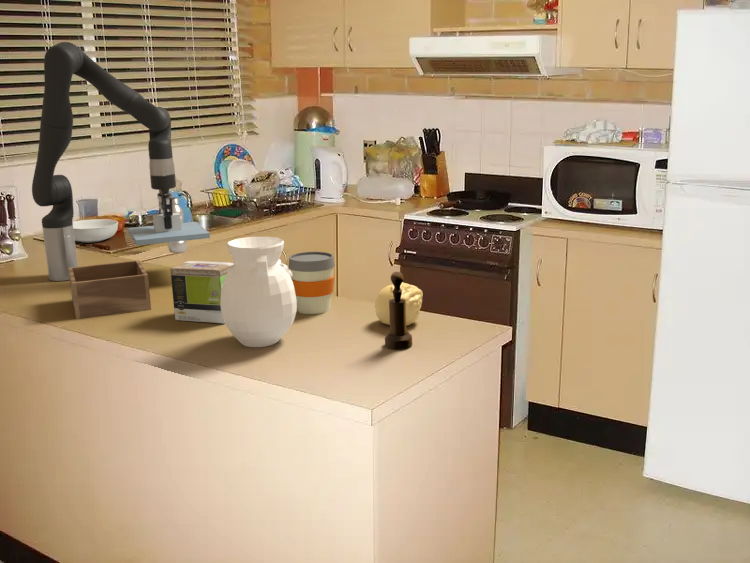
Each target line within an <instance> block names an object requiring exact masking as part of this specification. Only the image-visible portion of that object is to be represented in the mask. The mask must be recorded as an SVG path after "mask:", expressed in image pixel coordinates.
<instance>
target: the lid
mask: <svg viewBox="0 0 750 563" xmlns="http://www.w3.org/2000/svg"><path fill="white" fill-rule="evenodd" d="M171 220H172V228H171V229H165V225H164V217H163V214H161V213H160V214H153V215H152V221H153V222H152V224H153V225H146V226H135V227H128V228H127V229H128V234H129V236H130V238H131V239H132V241H133V242H134V243H135V245H136V246H147V245H156V244H164V243H168V242H176V241H186V242H187V241H194V240H203V239H210V238H211V236H210V235H211V234H210V232H209V231H208V230H207V229H205V227H203V226H202V225H201V224H200V223H199V222H197V221H190V222H183V223H181V216H180V214H179V213H173V214H172V217H171Z"/></svg>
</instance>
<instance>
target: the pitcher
mask: <svg viewBox="0 0 750 563" xmlns="http://www.w3.org/2000/svg"><path fill="white" fill-rule="evenodd" d="M226 247H227V249H228V251H229V254H230V256H231V258H232V261H233V262H234V263H235V266H234V267H233V268H229V269H228V271H227V274H226V278H225V279H224V281H223V283H222V284H223V285H222V290H221V301H220V306H221V313H222V318H223V320H224V322H225V323H224V324H225V326H226V328H227V329H228V331H229V332H230V333H231V335H232V336H233V337H234V338H235V339H237V341H238V342H239V343H241V344H242V346H244V347H248V348H265V347H266V348H267V347H268V346H269V347H270V346H273V345H275V344H277V343H278V342H279V341H280V340H281V338H282V337H283V336H284V335H285V334H286V333H287V332H288V331H289V329H291V327H292V324H293V323H294V321H295V318H296V315H297V312H298V311H297V300H296V295H295V289H294V285H293V282H292V279H291V277H292V276H293V275H292V272H291V271H290V269H289V266H288V265H287V264H284V262H282V260H281V259H280V258H281V256H282V253H283V250H284V247H285V241H284V240H283V238H280V237H275V236H246V237H240V238H236V239H233V240H230V241H228V242H227V243H226ZM241 344H240V345H241Z"/></svg>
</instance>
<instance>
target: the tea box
mask: <svg viewBox="0 0 750 563" xmlns="http://www.w3.org/2000/svg"><path fill="white" fill-rule="evenodd" d="M234 266H235V263H234V261H211V260H210V261H208V260H207V261H206V260H187V261H184V262H182V263H180V264H177V265H175V266H172V267H170V268H169V270H170V278H171V279H170V280H171V290H172V292H171V293H172V300H173V301H172V302H173V311H174V319H175V321H183V322H184V321H185V322H186V321H187V322H199V323H212V324H225V322H224V320H223V318H222V313H221V306H220V301H221V290H222V285H223V284H222V283H223V281H224V279H225V278H226V274H227V271H228V269H229V268H233V267H234Z"/></svg>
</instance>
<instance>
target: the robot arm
mask: <svg viewBox="0 0 750 563" xmlns="http://www.w3.org/2000/svg"><path fill="white" fill-rule="evenodd" d="M43 67H44V68H43V71H44V72H43V73H44V76H43V77H44V90H43V98H42V106H41V107H42V108H41V114H40V115H41V117H40V127H39V141H38V149H37V157H36V164H35V168H34V172H33V178H32V185H31V195H32V199H33V201H34V203H35V204H36V205H37V206H39V207H50V206H51V207H52V208H51V210H50V211H49V212H48V213H47V214H46V215H45V216H43V217H42V218H41V226H42V228H41V229H42V235H43V241H44V249H45V250H44V251H45V257H46V258H45V260H46V265H47V266H46V267H47V272H48V280H50V281H52V282H55V281H56V282H62V281H70V277H69V269H68V268H71V267H79V264H78V258H77V248H76V246H77V245H76V241H75V238H74V230H73V222H74V220H73V219H74V198H73V188H72V184H71V182H70V180H69V178H68V177H67V176H65V175H63V174H55V170H56V167H57V164H58V162H59V161H60V159H61V157H63V154H64V153H65V152H66V150H67V149H68V147H69V145H70V143H71V141H72V135H73V127H74V126H73V125H74V115H73V110H72V106H71V105H72V104H71V100H70V90H71V82H72V78H73V75H75V76H78V77H79V78H81V79H83V80H84V81H86V82H88V83H89V84H90V85H92V86H93V87H94V88H95V89H96V90H97V91H98V92H99V93H100V94H101V96H103V97H104V98H105V99H106V100H107V101H108V102H109V103H111V104H112V105H114V106H115V107H117V108H118V109H120V110H122V111H123V112H124V113H126V114H128V115H130V116H132V118H134V119H135V120H136V121H138V122H139V123H140V124H141V125H142V126H144V127H145V128H147V129H148V135H149V140H148V146H147V147H148V158H149V164H148V165H149V166H148V167H149V169H148V170H149V177H150V187H151V189H152V190H156V191H157V190H158V192H157V200H158V207H159V212H160V214H163V217H164V225H165V229H171V228H172V220H171V217H172V214H173V213H172V198H173V195H172V193H170V190H171V189H175V188H176V187H177V181H176V173H175V172H176V171H175V163H174V157H173V147H172V121H171V120H172V119H171V115H170V112H169V111H168V110H167V109H166V108H164V107H161V106H156V105H155V104H153V103H151V102H150V101H148V100H146V99H145V97H144V96H143V95H142V94H140V93H139V92H138V91H136V90H135V89H133V88H132V87H129V85H127V84H125V83H124V82H122V81H120V80H119V79H117V78H116V77H115V76H113V75H112V74H111V73H109V72H108V71H106V70H105V69H104V67H103V68H102V66H100V65H99V64H98V63H97V62H96V61H95V60H93V59H92V58H91V57H89V55H87V54H86V53H85V52H84V51H83V50H82V49H81V48H79V47H78V46H77V45H76V44H74V43H72V42H69V41H61V42H58V43H55V44H54V45H52V46H50V47H49V48H48V49H47V50H46V52H45V54H44V59H43Z"/></svg>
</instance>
